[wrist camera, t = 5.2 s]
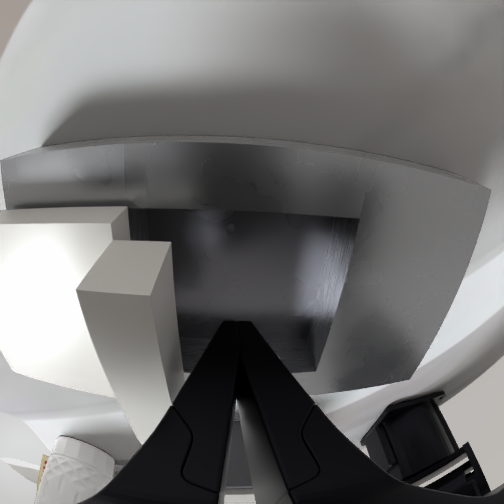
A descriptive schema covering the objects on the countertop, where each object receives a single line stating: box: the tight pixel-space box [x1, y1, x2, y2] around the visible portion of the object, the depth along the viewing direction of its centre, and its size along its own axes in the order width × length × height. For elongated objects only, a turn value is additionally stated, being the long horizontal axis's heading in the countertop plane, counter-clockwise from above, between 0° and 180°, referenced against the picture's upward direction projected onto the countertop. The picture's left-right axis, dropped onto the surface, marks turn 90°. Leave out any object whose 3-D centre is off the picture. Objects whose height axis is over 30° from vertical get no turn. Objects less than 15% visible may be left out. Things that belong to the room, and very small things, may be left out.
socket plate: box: [0, 135, 491, 395], centre depth 10 cm, size 17×10×2 cm, turn 86°
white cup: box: [34, 436, 115, 504], centre depth 16 cm, size 8×8×10 cm
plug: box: [224, 421, 255, 503], centre depth 15 cm, size 4×4×5 cm
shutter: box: [0, 206, 185, 445], centre depth 7 cm, size 8×7×3 cm
